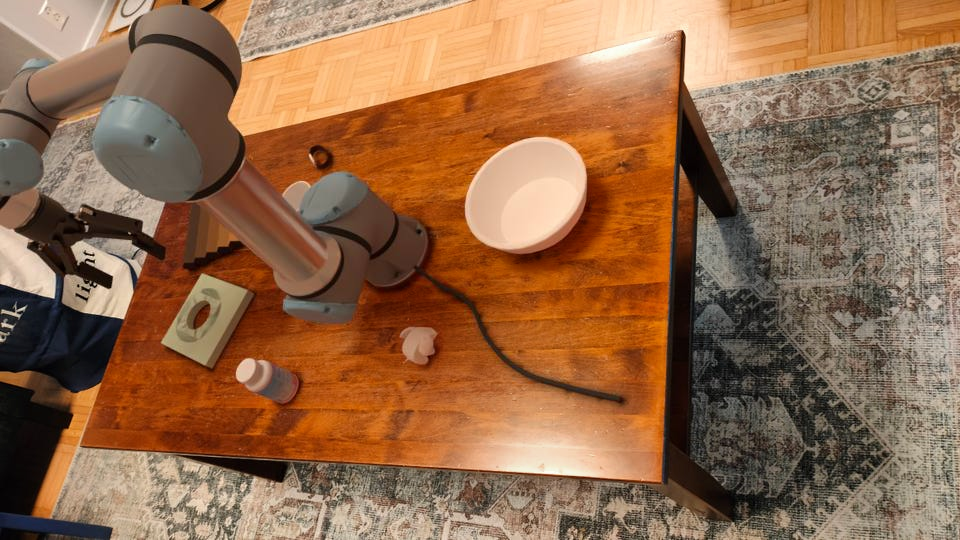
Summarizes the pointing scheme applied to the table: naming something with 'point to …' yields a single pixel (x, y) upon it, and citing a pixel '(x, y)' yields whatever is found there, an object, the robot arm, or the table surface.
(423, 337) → the elephant figurine
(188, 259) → the pan flute
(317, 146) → the watch
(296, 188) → the mug
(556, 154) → the bowl
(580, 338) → the table surface
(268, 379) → the pill bottle
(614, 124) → the table surface
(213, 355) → the mounting pad
